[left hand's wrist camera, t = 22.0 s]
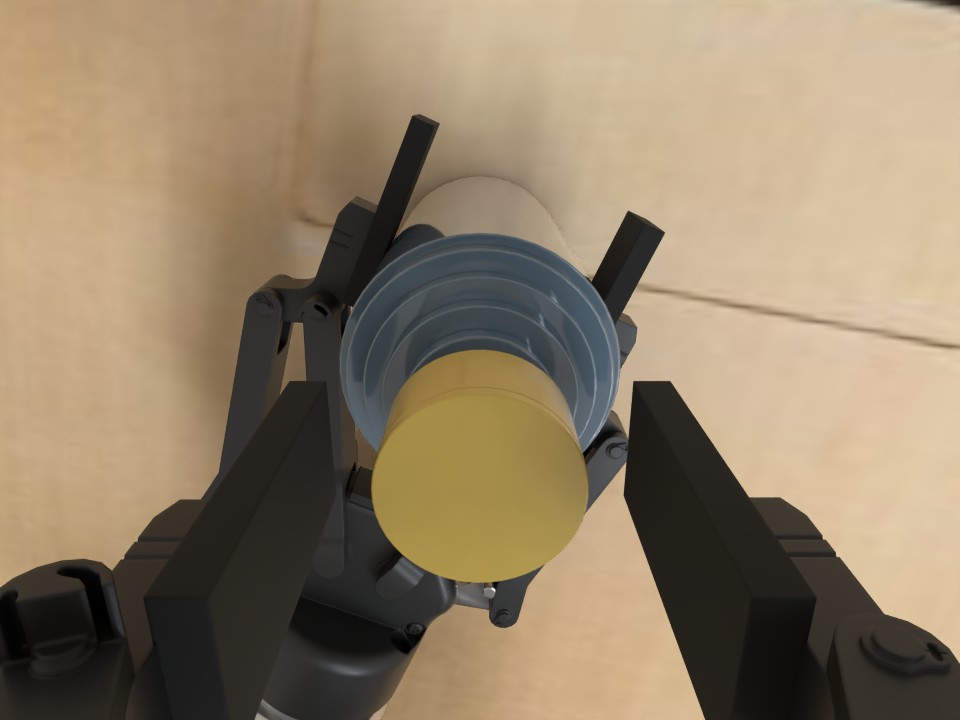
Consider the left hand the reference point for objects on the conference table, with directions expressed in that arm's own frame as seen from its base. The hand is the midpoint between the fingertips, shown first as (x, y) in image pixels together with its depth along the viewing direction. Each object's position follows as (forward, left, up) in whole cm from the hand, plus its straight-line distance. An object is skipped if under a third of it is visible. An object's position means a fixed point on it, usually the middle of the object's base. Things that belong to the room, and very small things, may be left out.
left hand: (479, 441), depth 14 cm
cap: (0, 0, +2) cm, 2 cm away
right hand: (-4, -2, -11) cm, 12 cm away
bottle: (0, 0, -17) cm, 17 cm away
